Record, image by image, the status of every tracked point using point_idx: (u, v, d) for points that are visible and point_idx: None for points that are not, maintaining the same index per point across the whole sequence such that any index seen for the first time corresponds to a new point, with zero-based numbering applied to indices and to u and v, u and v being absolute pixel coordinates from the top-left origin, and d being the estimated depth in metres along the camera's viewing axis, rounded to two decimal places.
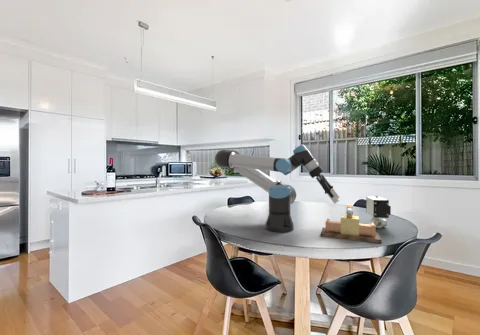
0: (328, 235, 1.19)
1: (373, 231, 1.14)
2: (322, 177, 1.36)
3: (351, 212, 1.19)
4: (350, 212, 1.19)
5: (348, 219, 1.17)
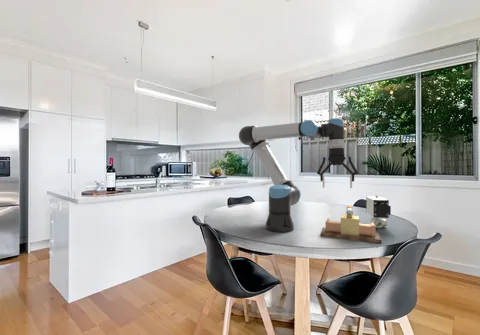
0: (328, 235, 1.19)
1: (373, 231, 1.14)
2: (332, 160, 1.31)
3: (351, 212, 1.19)
4: (350, 212, 1.19)
5: (348, 219, 1.17)
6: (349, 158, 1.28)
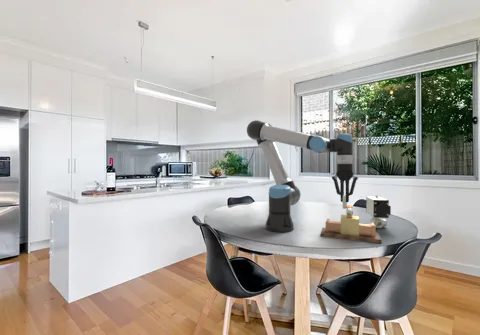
0: (328, 235, 1.19)
1: (373, 231, 1.14)
2: None
3: (351, 212, 1.19)
4: (350, 212, 1.19)
5: (348, 219, 1.17)
6: (355, 178, 1.25)
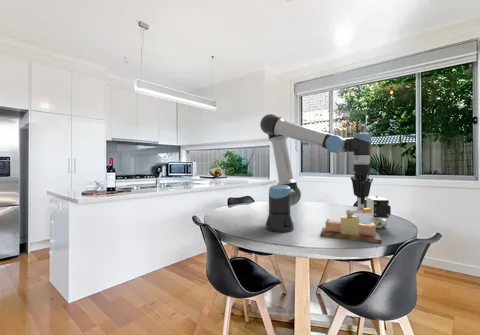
0: (328, 235, 1.19)
1: (373, 231, 1.14)
2: None
3: (348, 212, 1.19)
4: (347, 212, 1.20)
5: (348, 219, 1.17)
6: (367, 180, 1.19)
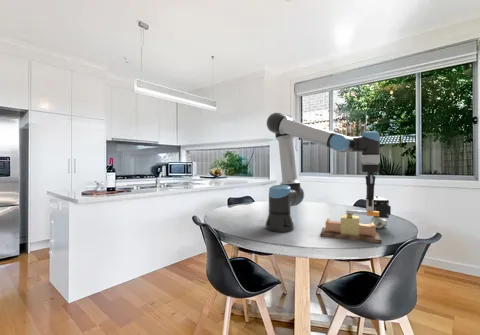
0: (328, 235, 1.19)
1: (373, 231, 1.14)
2: None
3: (347, 211, 1.20)
4: (346, 211, 1.21)
5: (348, 219, 1.17)
6: (368, 181, 1.14)
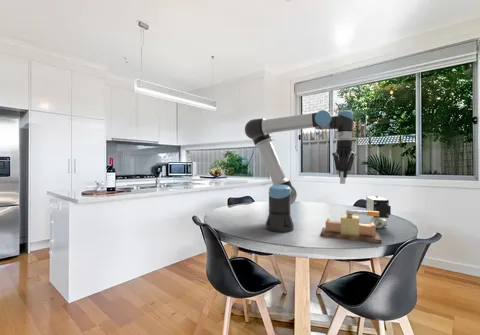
0: (328, 235, 1.19)
1: (373, 231, 1.14)
2: None
3: (347, 211, 1.20)
4: (346, 211, 1.21)
5: (348, 219, 1.17)
6: (352, 154, 1.28)
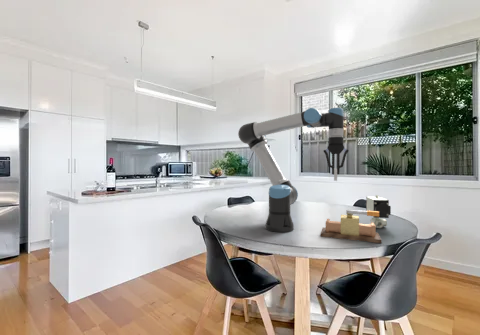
0: (328, 235, 1.19)
1: (373, 231, 1.14)
2: (332, 150, 1.33)
3: (347, 211, 1.20)
4: (346, 211, 1.21)
5: (348, 219, 1.17)
6: (346, 151, 1.30)
